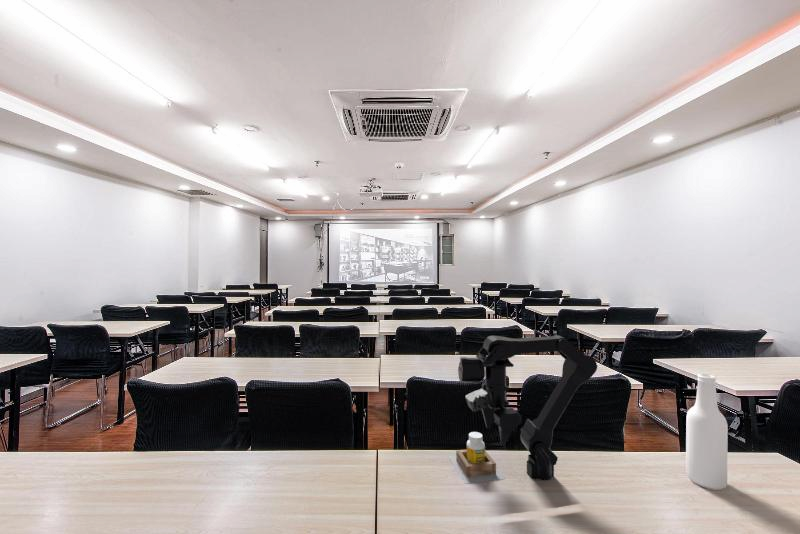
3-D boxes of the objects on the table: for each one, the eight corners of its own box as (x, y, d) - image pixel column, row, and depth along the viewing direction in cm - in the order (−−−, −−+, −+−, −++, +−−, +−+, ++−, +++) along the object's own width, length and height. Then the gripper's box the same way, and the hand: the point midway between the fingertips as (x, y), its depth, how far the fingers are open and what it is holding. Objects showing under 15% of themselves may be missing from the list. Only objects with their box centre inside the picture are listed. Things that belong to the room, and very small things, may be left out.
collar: (483, 457, 110) (483, 447, 110) (495, 473, 101) (495, 463, 101) (456, 460, 108) (456, 450, 108) (466, 477, 100) (466, 466, 100)
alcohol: (692, 468, 106) (693, 369, 105) (731, 484, 98) (732, 377, 98) (680, 478, 101) (681, 374, 100) (721, 495, 93) (721, 382, 93)
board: (484, 456, 113) (484, 452, 113) (505, 482, 99) (505, 478, 99) (448, 460, 111) (448, 456, 111) (464, 487, 97) (464, 483, 97)
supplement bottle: (475, 459, 108) (475, 428, 108) (488, 468, 104) (488, 436, 104) (462, 465, 105) (462, 433, 105) (475, 474, 101) (475, 441, 101)
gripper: (457, 373, 108) (457, 423, 108) (482, 395, 90) (482, 456, 90) (491, 370, 110) (491, 420, 110) (522, 392, 92) (522, 451, 92)
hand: (495, 435), depth 101 cm, fingers open, 9 cm apart
